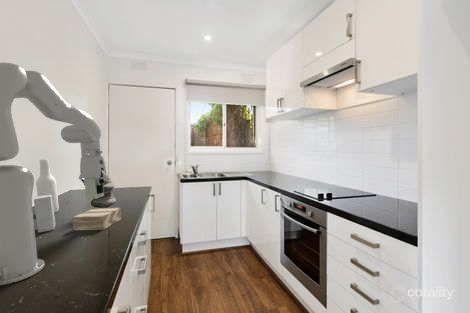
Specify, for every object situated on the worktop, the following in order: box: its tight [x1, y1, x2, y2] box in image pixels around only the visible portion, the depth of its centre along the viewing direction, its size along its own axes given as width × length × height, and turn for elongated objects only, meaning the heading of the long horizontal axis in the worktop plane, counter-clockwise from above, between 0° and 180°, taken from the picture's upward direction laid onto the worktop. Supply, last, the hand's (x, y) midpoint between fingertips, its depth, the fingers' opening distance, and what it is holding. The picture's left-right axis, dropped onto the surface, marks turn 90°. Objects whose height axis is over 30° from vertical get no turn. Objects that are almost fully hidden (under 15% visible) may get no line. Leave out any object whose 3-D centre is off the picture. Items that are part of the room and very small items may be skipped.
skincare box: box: [33, 195, 57, 233], centre depth 107 cm, size 8×6×15 cm
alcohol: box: [35, 158, 60, 214], centre depth 134 cm, size 9×9×30 cm
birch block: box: [71, 207, 122, 231], centre depth 111 cm, size 14×14×6 cm
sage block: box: [84, 178, 104, 200], centre depth 110 cm, size 5×5×9 cm
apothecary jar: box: [90, 177, 117, 208], centre depth 131 cm, size 12×12×18 cm
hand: (94, 192), depth 110 cm, fingers closed on sage block, 5 cm apart
